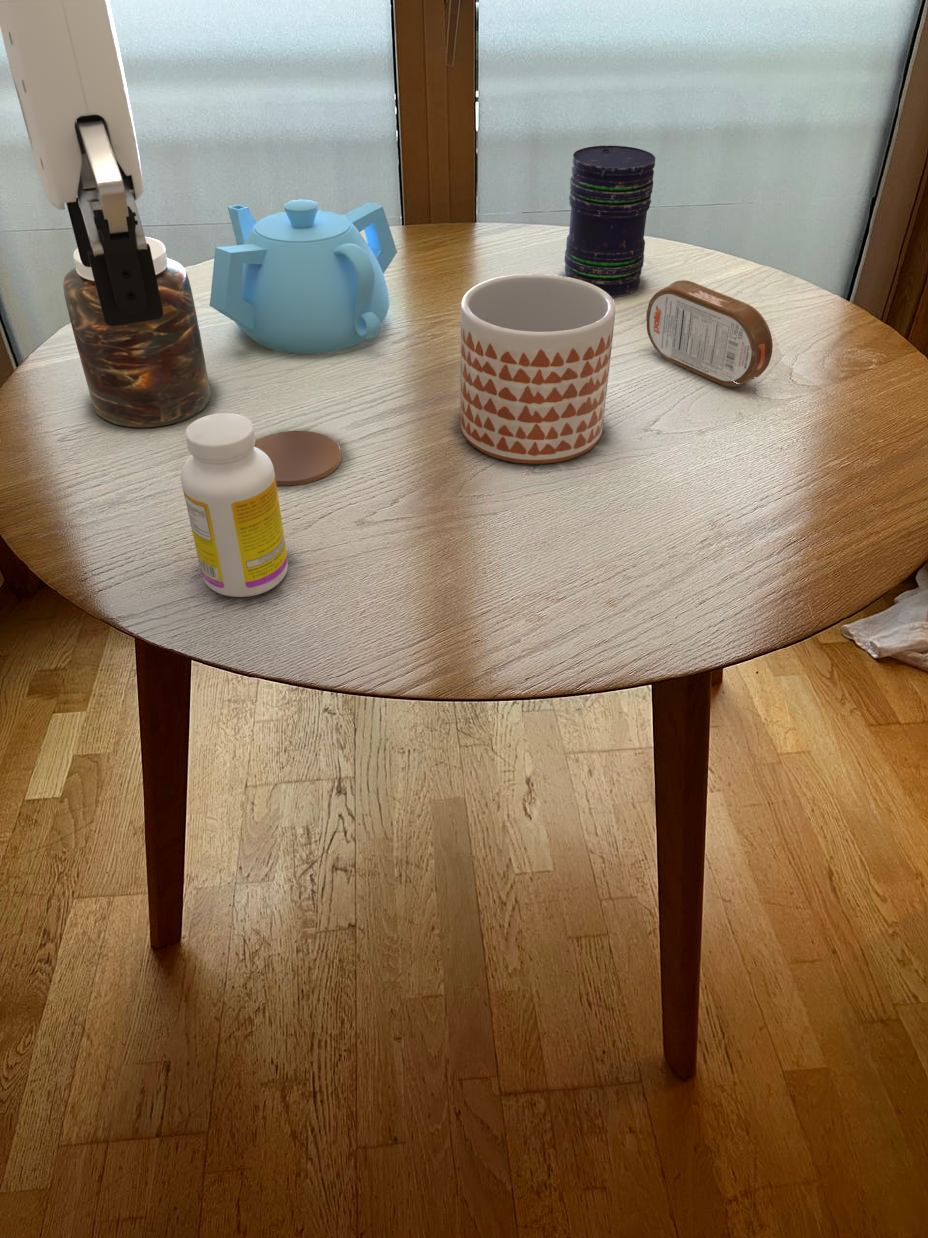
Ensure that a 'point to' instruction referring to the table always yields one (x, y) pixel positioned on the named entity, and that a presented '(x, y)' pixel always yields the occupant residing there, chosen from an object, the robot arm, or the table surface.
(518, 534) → the table surface
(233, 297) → the teapot
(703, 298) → the tin
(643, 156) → the storage jar
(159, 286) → the jar
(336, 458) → the brown coaster
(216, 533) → the supplement bottle
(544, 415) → the planter
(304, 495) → the table surface
